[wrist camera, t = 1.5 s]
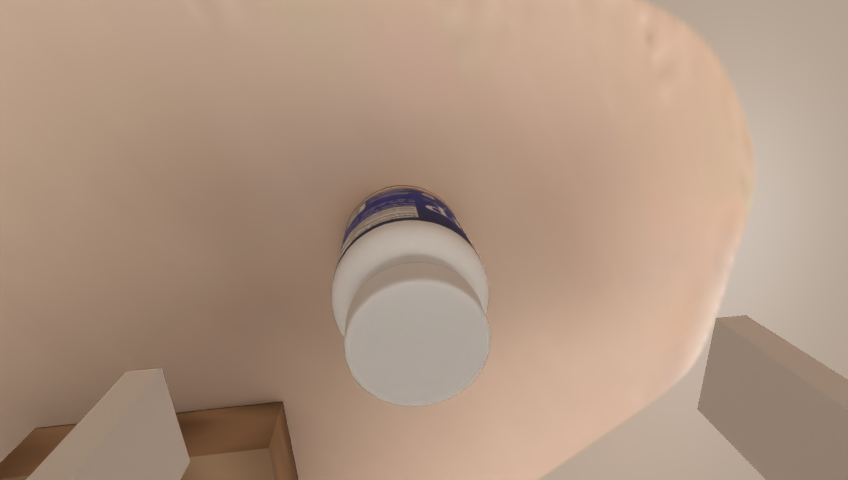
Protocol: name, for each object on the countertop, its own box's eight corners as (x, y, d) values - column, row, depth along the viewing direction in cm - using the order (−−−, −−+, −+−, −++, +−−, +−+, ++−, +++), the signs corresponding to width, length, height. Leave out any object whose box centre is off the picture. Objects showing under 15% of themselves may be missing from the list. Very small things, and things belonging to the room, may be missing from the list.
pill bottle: (477, 259, 20) (544, 376, 12) (381, 309, 21) (382, 456, 12) (425, 161, 19) (463, 220, 10) (321, 218, 19) (277, 319, 11)
